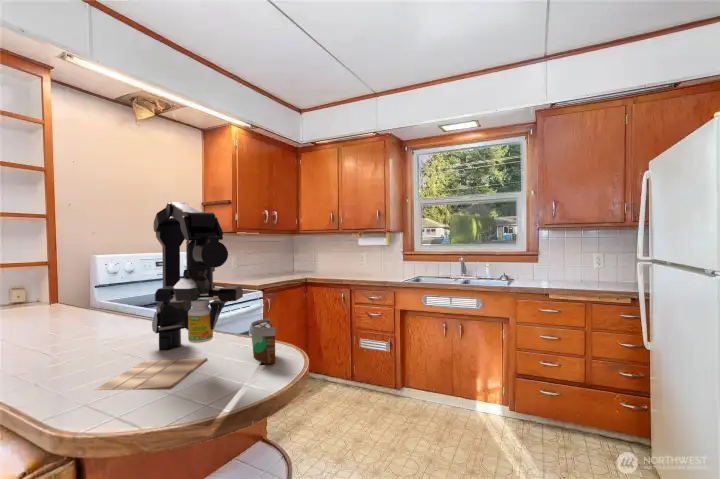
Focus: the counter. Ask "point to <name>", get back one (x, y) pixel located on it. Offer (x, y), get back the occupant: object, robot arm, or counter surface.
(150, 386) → the plank
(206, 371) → the counter surface
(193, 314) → the supplement bottle
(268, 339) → the food container
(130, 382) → the floor board
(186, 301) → the robot arm
